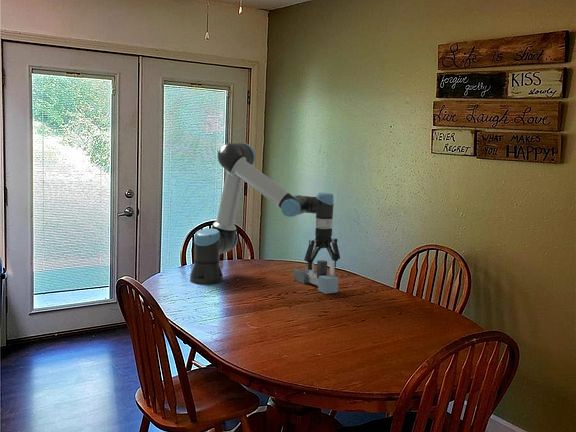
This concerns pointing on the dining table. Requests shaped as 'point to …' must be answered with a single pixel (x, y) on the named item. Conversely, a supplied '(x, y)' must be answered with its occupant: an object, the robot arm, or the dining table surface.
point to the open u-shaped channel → (301, 275)
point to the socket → (328, 284)
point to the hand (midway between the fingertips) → (321, 275)
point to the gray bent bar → (318, 272)
